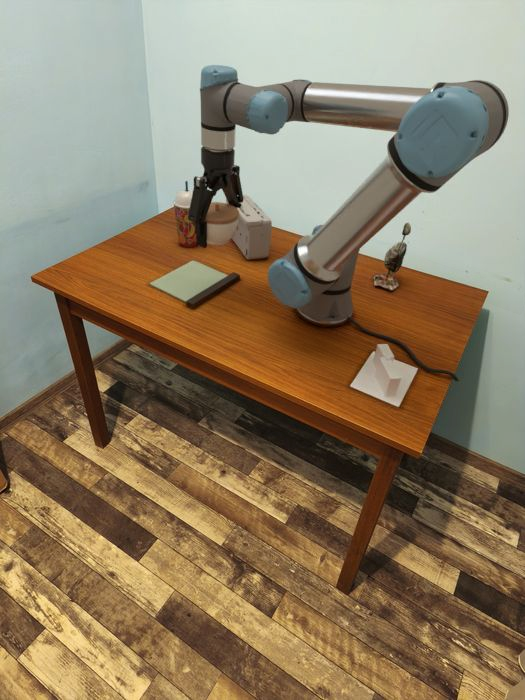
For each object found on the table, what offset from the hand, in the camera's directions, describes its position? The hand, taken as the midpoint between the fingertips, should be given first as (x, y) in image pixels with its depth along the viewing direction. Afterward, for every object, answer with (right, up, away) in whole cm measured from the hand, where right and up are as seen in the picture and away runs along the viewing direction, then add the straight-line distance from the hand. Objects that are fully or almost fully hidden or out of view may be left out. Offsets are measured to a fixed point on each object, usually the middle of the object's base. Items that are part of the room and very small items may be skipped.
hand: (216, 238), depth 116 cm
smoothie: (-12, +6, +32) cm, 35 cm away
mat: (-9, -9, +14) cm, 19 cm away
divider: (-2, -12, +11) cm, 16 cm away
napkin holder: (+39, -35, -12) cm, 54 cm away
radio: (+6, +5, +33) cm, 34 cm away
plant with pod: (+49, -8, +21) cm, 54 cm away
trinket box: (0, 0, 0) cm, 1 cm away
